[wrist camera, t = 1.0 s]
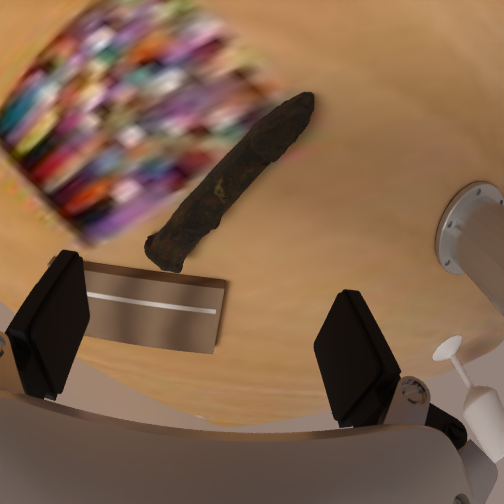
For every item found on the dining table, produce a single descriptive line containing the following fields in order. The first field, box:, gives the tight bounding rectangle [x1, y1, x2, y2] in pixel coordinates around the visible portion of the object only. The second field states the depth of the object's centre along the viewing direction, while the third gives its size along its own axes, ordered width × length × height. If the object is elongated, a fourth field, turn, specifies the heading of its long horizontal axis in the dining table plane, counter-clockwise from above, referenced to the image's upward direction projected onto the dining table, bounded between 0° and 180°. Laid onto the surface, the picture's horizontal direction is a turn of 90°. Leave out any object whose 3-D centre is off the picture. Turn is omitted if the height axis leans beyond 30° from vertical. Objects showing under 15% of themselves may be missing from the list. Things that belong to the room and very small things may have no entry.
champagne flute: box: [433, 335, 504, 463], centre depth 33 cm, size 7×7×24 cm
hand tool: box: [144, 92, 314, 273], centre depth 23 cm, size 19×4×5 cm, turn 135°
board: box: [48, 257, 225, 354], centre depth 31 cm, size 19×10×2 cm, turn 79°
